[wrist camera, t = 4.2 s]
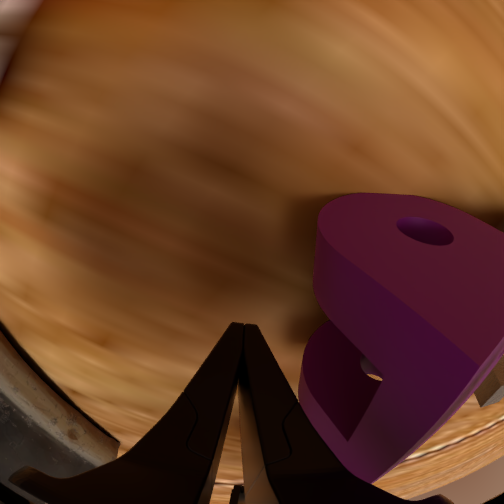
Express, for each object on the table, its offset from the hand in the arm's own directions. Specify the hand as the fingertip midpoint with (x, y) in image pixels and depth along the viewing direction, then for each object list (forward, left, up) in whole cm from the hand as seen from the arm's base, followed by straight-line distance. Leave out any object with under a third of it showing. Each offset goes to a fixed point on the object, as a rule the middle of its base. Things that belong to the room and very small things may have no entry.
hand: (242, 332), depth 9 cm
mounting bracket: (0, -12, -5) cm, 13 cm away
